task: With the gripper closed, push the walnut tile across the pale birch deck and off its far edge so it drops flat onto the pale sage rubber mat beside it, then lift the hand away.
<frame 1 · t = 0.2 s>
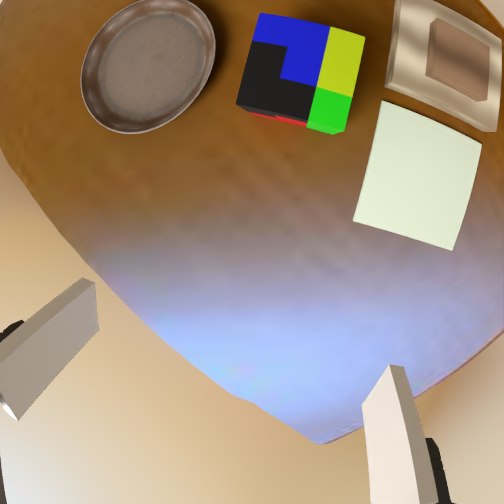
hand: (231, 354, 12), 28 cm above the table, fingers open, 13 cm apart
puzzle toy: (301, 86, 31), on the table
plant saucer: (150, 64, 33), on the table
walnut tile: (455, 61, 23), point 3 cm above the table, touching birch deck
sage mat: (423, 178, 32), on the table
birch deck: (444, 61, 26), on the table
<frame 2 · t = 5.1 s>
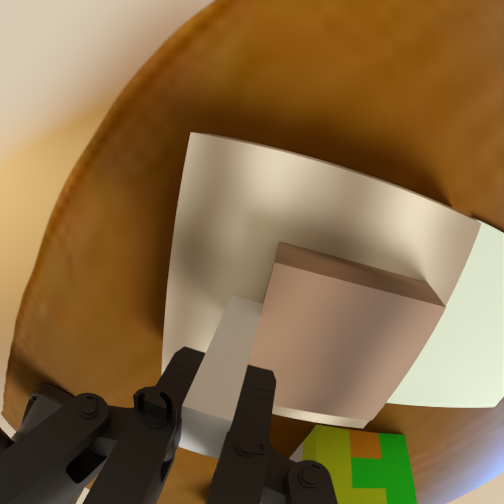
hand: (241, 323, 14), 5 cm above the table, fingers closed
puzzle toy: (340, 453, 25), on the table
walnut tile: (332, 330, 15), point 4 cm above the table, touching gripper
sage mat: (494, 338, 17), on the table
birch deck: (303, 292, 18), on the table
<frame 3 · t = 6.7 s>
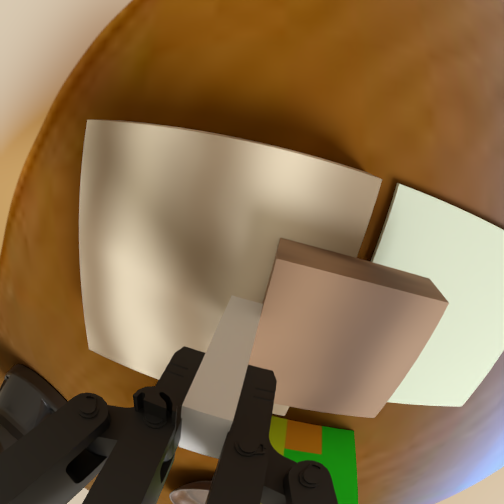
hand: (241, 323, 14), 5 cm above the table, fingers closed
puzzle toy: (286, 445, 25), on the table
plant saucer: (239, 498, 33), on the table
walnut tile: (334, 327, 15), point 3 cm above the table, touching gripper
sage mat: (446, 326, 17), on the table
birch deck: (208, 265, 18), on the table
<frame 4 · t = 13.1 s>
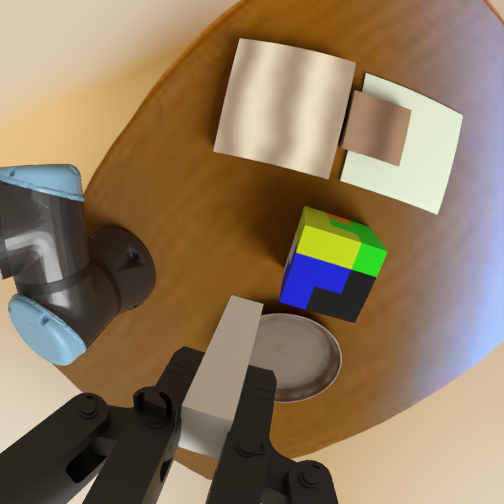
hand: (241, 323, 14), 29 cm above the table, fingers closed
puzzle toy: (326, 247, 42), on the table
plant saucer: (282, 352, 51), on the table
walnut tile: (373, 128, 35), resting on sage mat
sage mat: (406, 144, 35), on the table
birch deck: (285, 106, 36), on the table
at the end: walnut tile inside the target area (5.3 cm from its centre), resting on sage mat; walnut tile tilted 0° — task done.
